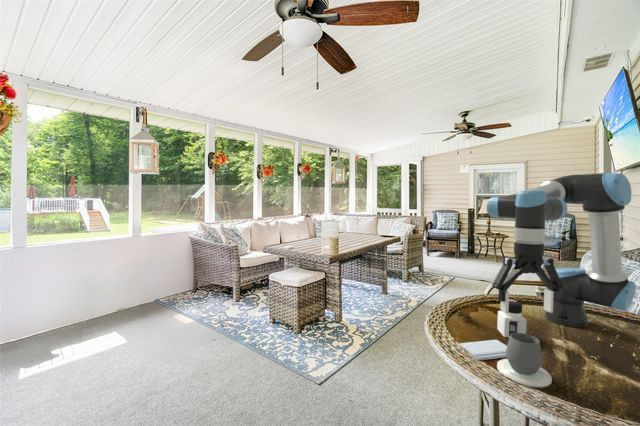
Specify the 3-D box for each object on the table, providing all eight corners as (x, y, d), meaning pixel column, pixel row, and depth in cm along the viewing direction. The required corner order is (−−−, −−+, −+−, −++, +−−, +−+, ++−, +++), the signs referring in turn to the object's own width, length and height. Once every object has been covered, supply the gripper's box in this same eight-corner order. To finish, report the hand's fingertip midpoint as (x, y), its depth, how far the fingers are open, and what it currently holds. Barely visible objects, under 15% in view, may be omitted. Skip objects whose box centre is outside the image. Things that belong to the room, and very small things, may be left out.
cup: (529, 381, 89) (530, 347, 88) (498, 365, 97) (499, 334, 97) (548, 374, 93) (550, 341, 92) (517, 359, 101) (519, 329, 101)
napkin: (496, 342, 116) (496, 338, 115) (518, 355, 106) (518, 352, 106) (458, 346, 112) (458, 342, 112) (477, 360, 103) (477, 356, 102)
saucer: (529, 361, 102) (529, 357, 102) (564, 387, 88) (564, 383, 88) (487, 361, 102) (487, 358, 102) (515, 387, 88) (516, 384, 88)
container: (526, 339, 118) (527, 305, 117) (504, 337, 120) (505, 304, 119) (517, 330, 126) (519, 299, 125) (496, 329, 127) (498, 297, 126)
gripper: (559, 239, 97) (556, 306, 98) (481, 240, 96) (479, 307, 98) (580, 243, 90) (576, 315, 91) (495, 244, 89) (493, 316, 90)
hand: (526, 311), depth 94 cm, fingers open, 13 cm apart
